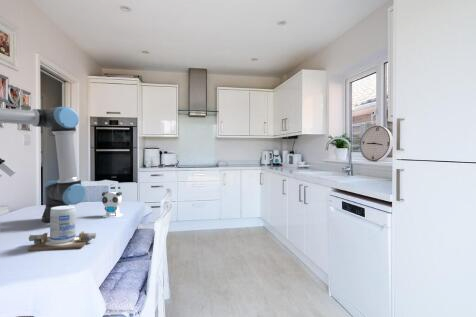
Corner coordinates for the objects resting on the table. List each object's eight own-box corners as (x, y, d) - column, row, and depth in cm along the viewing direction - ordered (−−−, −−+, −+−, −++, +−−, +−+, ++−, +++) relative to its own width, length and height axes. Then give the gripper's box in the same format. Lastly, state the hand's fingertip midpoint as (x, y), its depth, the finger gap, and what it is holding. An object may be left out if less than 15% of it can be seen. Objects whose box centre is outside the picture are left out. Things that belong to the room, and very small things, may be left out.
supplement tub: (61, 245, 118) (61, 210, 118) (44, 242, 121) (44, 208, 121) (80, 238, 128) (80, 206, 127) (64, 236, 130) (64, 204, 130)
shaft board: (40, 239, 130) (39, 229, 130) (100, 236, 134) (100, 227, 134) (19, 251, 114) (19, 240, 114) (88, 248, 119) (88, 237, 118)
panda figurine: (97, 217, 173) (97, 192, 173) (109, 213, 184) (109, 190, 184) (115, 218, 171) (115, 193, 171) (126, 214, 182) (126, 191, 182)
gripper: (-30, 146, 128) (11, 179, 134) (-67, 146, 105) (-16, 185, 110) (-15, 135, 130) (24, 167, 135) (-49, 132, 106) (1, 171, 112)
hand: (6, 175), depth 123 cm, fingers open, 13 cm apart
